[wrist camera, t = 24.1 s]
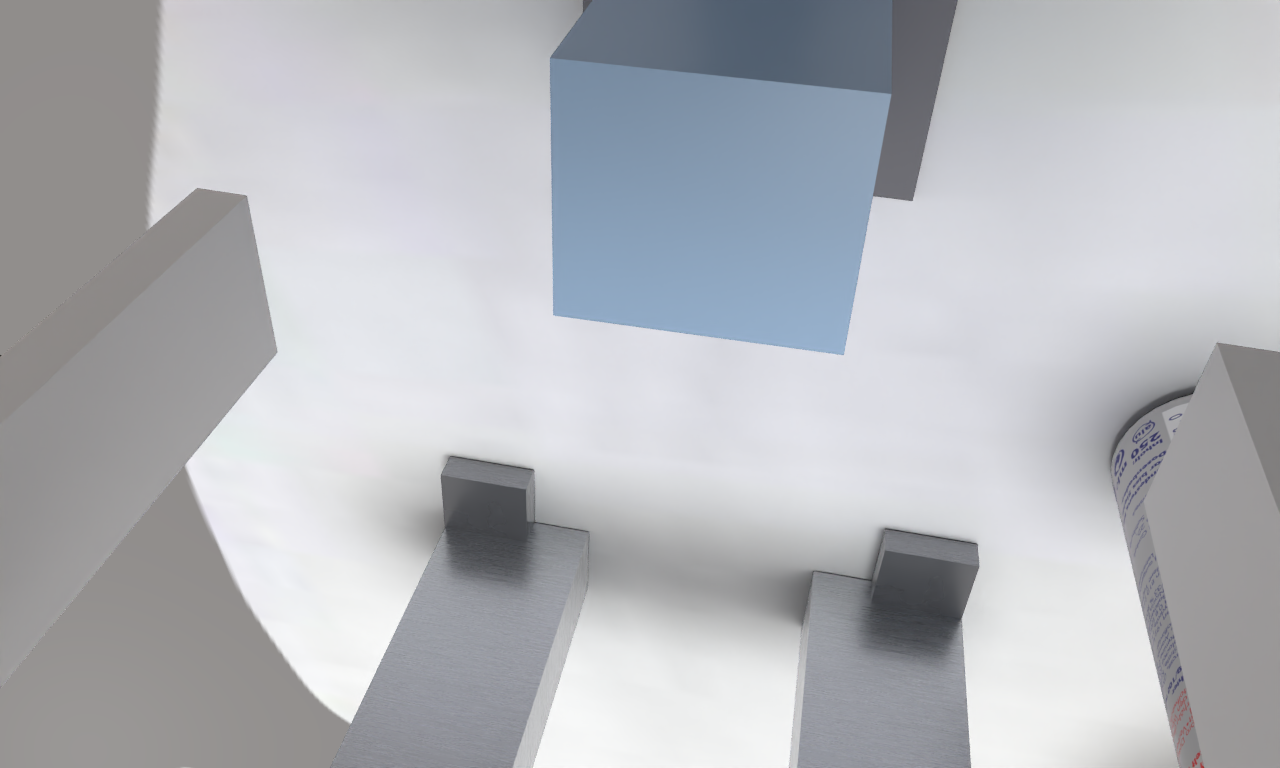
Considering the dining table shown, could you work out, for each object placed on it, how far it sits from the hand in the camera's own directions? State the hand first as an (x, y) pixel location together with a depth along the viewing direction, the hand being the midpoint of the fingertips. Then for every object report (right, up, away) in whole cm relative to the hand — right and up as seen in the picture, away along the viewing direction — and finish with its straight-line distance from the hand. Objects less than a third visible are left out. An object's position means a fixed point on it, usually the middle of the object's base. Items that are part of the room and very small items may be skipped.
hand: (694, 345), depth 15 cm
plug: (+2, +11, +10) cm, 15 cm away
